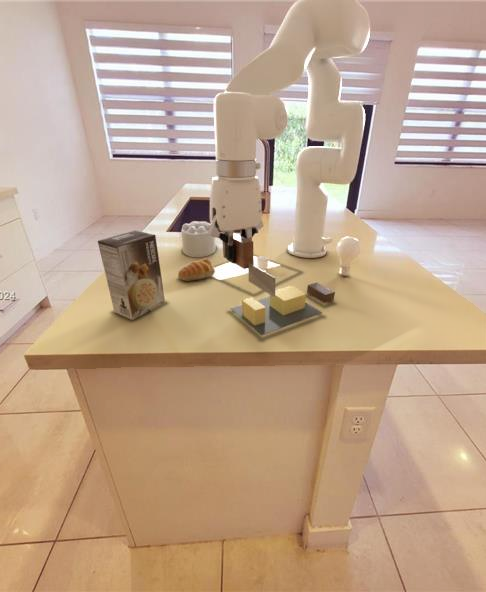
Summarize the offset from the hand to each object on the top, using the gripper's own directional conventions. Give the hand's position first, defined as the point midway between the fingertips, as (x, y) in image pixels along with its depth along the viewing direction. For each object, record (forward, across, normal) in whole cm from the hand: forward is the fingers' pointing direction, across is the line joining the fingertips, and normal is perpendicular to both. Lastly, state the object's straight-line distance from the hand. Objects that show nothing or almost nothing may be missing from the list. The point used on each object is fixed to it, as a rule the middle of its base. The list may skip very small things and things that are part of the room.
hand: (237, 259), depth 68 cm
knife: (+3, 0, +5) cm, 6 cm away
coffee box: (+10, +20, -8) cm, 24 cm away
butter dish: (+10, -4, +10) cm, 15 cm away
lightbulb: (+11, -33, +3) cm, 35 cm away
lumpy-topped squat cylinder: (+11, -7, -36) cm, 38 cm away
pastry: (+10, +2, -17) cm, 20 cm away
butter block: (+9, -7, +10) cm, 15 cm away
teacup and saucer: (+11, -12, -12) cm, 20 cm away
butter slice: (+9, +2, +10) cm, 14 cm away
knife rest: (+10, -17, +10) cm, 22 cm away
